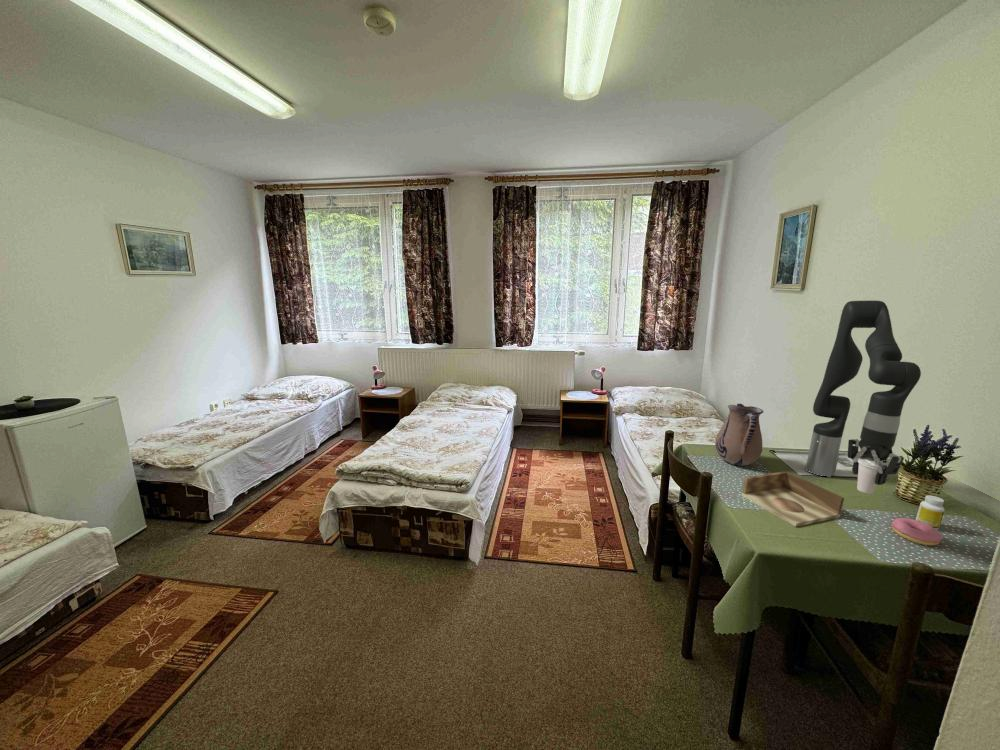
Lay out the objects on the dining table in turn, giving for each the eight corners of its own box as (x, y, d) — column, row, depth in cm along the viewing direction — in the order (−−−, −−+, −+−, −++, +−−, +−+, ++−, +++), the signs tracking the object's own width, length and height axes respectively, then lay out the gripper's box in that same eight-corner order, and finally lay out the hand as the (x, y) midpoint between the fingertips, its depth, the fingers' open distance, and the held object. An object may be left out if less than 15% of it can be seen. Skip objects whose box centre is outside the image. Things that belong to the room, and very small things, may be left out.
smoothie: (870, 497, 117) (882, 454, 113) (846, 487, 123) (856, 445, 119) (884, 494, 119) (895, 451, 116) (859, 483, 125) (869, 443, 121)
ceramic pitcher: (746, 454, 181) (755, 402, 175) (772, 475, 160) (783, 417, 155) (706, 452, 182) (714, 400, 177) (727, 473, 162) (736, 415, 156)
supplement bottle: (942, 532, 124) (950, 504, 122) (918, 526, 127) (926, 499, 125) (935, 524, 129) (943, 497, 126) (912, 518, 131) (919, 492, 129)
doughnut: (942, 553, 114) (946, 540, 114) (890, 536, 122) (893, 524, 121) (938, 536, 122) (941, 524, 121) (889, 522, 130) (892, 510, 129)
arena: (782, 488, 150) (785, 471, 148) (839, 517, 131) (844, 497, 130) (741, 495, 144) (744, 477, 143) (795, 526, 126) (799, 506, 124)
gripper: (919, 435, 110) (904, 490, 114) (865, 418, 124) (853, 467, 127) (896, 437, 109) (882, 492, 113) (845, 419, 122) (834, 468, 126)
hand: (867, 478), depth 120 cm, fingers closed on smoothie, 6 cm apart
